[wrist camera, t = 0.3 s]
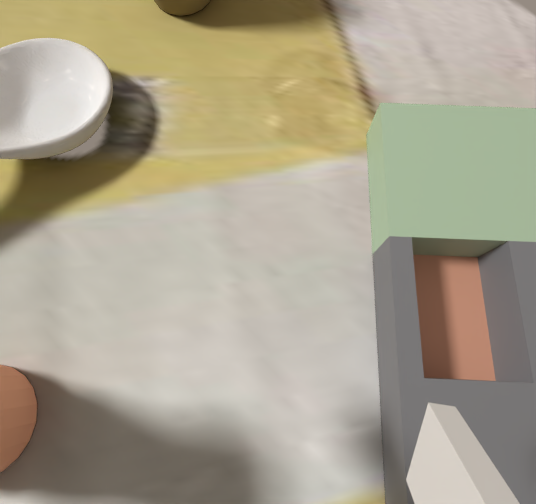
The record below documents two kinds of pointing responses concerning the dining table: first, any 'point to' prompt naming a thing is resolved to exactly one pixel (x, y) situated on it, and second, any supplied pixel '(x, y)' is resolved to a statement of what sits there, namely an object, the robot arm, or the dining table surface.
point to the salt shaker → (15, 414)
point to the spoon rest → (50, 97)
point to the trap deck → (455, 280)
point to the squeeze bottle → (181, 6)
